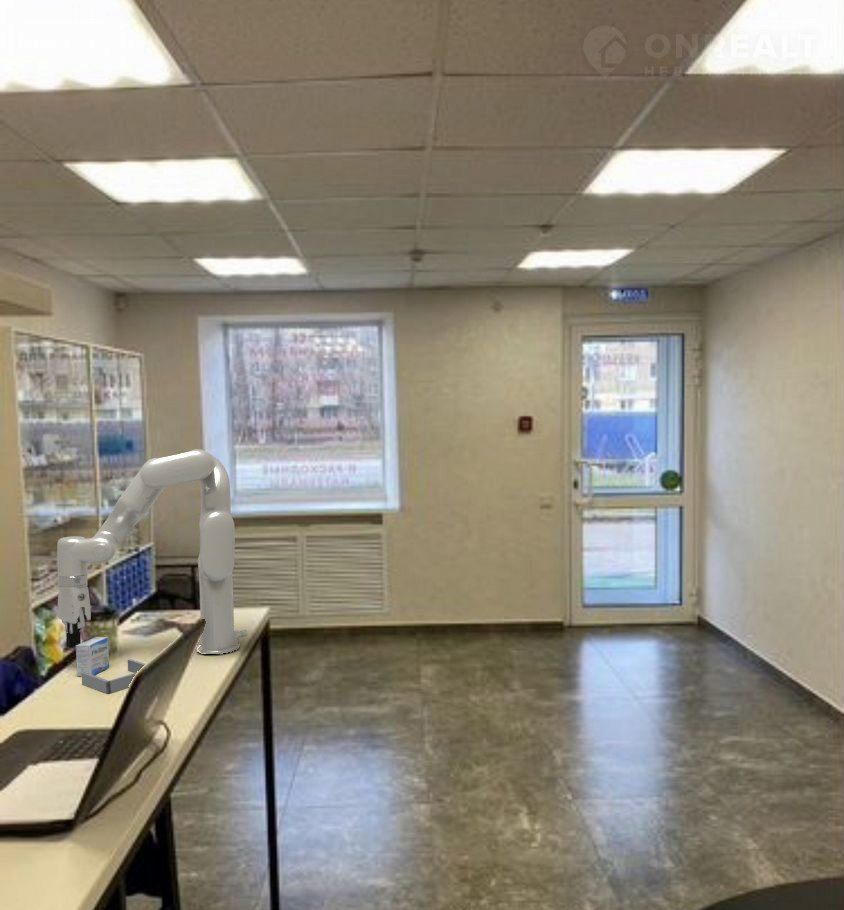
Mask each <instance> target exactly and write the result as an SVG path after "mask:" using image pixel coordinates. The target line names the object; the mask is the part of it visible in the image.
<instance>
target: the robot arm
mask: <svg viewBox="0 0 844 910" xmlns="http://www.w3.org/2000/svg"><path fill="white" fill-rule="evenodd" d="M196 481H198V484H199V486H200V518H199V522H198V523H199V524H198V525H199V526H198V527H199V531H200V532H199V534H200V535H199V549H200V550H199V554H198V559H197V565H198V566H197V567H198V580H199V581H198V583H199V584H198V585H199V604H200V605H199V609H200V610H199V611H200V612H199V613H200V620H201V619H205V621H206V624H205V627H204V631H203V633H202V636H201V635H200V637H201V640H200V641H201V643H200V644H199V645H201V646H200V647H199V648H198V650H199V651H200V652H201V653H206V654H220V655H224V654H223V653H226V654H229V653H228V652H230V653H233V652H235V651H234V650H236V651H237V649H238V648H239V647H240V648H241V642H240V641H238V640H240V638H245V637H247V636H248V631H247V630H246V629H244V630H240V631H239V630H235V615H234V614H235V613H234V608H235V607H234V584H233V570H234V567H235V554H236V553H235V548H236V547H235V545H236V544H235V543H236V542H235V539H236V536H235V534H236V531H235V530H236V529H235V528H236V527H235V521H234V519H233V517H232V511H231V509H232V507H231V504H232V502H231V482H230V477H229V474H228V471H227V470H226V467H225V466H224V465H223V463H222V462H221V461H220V460H219V459H218V458H217V457H216V456H215V455H213V454H211V453H209V452H207V451H206V450H204V449H198V448H197V449H192V450H190V451H187V452H182V453H178V454H177V453H176V454H174V455H173V454H172V455H169V456H168V455H167V456H164V457H154V458H150V459H148V460H146V462H144V464H143V465H142V467H141V468H140V469H139V471H137V474H136V475H135V476H134V478H133V479H132V480H131V482H130V483H129V485H128V486H127V487H126V488H125V490H124V491H123V492H122V494H121V495H120V497H119V498H118V500H117V501H116V503H115V506H113V507H114V508H113V510H112V511H111V513H110V514H109V515H108V517H107V518H106V519H105V520H104V523H103V524H102V526H101V527H100V528H98V530H97V532H95V535H94V536H93V537H89V538H86V537H84V536H77V535H76V536H75V535H74V536H66V537H65V536H64V537H61V538H59V539H58V540H57V543H56V544H57V547H56V548H57V552H56V554H57V558H56V559H57V589H58V596H57V617H58V618H59V620H61V623H62V624H63V625H64V629H65V630H64V631H65V633H66V635H65V636H66V637H65V638H66V639H65V640H66V644H65V645H66V646H65V647H67V648H69V649H71V648H76V645H79V644H81V643H82V642H81V632H82V628H85V627H86V623H85V622H90V621H91V617H92V614H91V613H92V612H91V611H92V610H91V600H90V592H89V587H88V563H92V564H105V563H107V562H109V561H111V560H112V559H114V556H115V554H116V552H117V551H118V549H119V548H120V546H121V545H122V544H123V543H124V542H125V539H126V538H128V537H127V536H128V535H129V534H130V533H131V531H132V529H134V527H135V526H136V525H137V524H138V523H139V522H140V521H141V520H142V519H144V517H145V516H146V515H147V513H148V512H149V510H150V509H151V508H152V506H153V505H154V504H155V502H156V501H157V499H158V498H159V496H160V495H161V494H162V492H163V491H164V490H165V488H169V487H173V486H179V485H182V484H183V485H184V484H187V483H191V482H196ZM240 648H239V649H240ZM239 649H238V650H239ZM232 651H233V652H232Z"/></svg>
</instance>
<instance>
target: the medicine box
mask: <svg viewBox="0 0 844 910" xmlns="http://www.w3.org/2000/svg"><path fill="white" fill-rule="evenodd" d="M109 650H110V649H109V638H108V636H107V637H106V636H105V637H104V636H96V637H95V636H94V637H92V638H90V639H88V640H86V641H84V642H81V644H79V645H76V647H75V652H76V653H75V654H76V655H75V656H76V657H75V658H76V674H77V675H76V676H77V677H81V676H82V673H83V672H86V673H89V674H92V675H95V676H97V675H99V674H100V673H102V672H104V671H106V670H107V668H108V669H109V668H110V653H109ZM105 669H106V670H105ZM103 670H104V671H103ZM101 671H102V672H101Z"/></svg>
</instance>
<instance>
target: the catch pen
mask: <svg viewBox="0 0 844 910" xmlns="http://www.w3.org/2000/svg"><path fill="white" fill-rule="evenodd" d="M145 664H146V663H144V662H141V661H138V660H134V659H131V658H128V659H127V671H128V672H131V673H129V674H127V675H126V674H125V675H124V676H120V677H117V678H113V679H111V680H108V679H105V678H103V677H100V676H97V675H95V676H94V675H92V674H89V673H86V672H83V673H82V677H81V684H82V685H83V686H86V687H88V688H91V689H94V690H95V691H97V692H98V691H99V692H101V693H104V694H106V695H110V694H112V693H116V692H120V691H122V690H125V689H128V686H129V684H130V683H131V681H132V679H133V677H134V676H135V674H136V673H137V671H139V670H140V669H141V668H142V667H143V666H144V665H145Z"/></svg>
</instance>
